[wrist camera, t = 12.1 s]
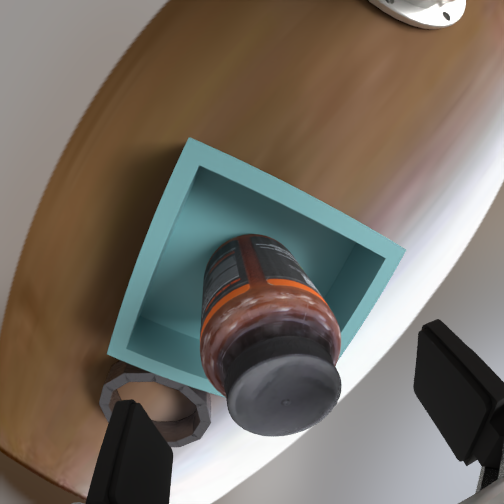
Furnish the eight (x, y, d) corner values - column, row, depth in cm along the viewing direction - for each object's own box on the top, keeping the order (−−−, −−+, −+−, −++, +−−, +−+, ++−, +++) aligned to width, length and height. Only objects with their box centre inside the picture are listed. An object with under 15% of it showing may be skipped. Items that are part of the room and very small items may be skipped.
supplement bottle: (195, 307, 21) (182, 444, 10) (215, 221, 19) (213, 311, 8) (281, 324, 22) (328, 453, 11) (308, 243, 20) (395, 340, 9)
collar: (120, 336, 22) (111, 355, 20) (226, 376, 24) (227, 397, 22) (100, 406, 24) (93, 424, 22) (189, 437, 26) (188, 456, 24)
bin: (196, 141, 18) (189, 137, 14) (369, 228, 21) (406, 249, 17) (126, 314, 22) (106, 354, 17) (283, 372, 24) (296, 415, 20)
